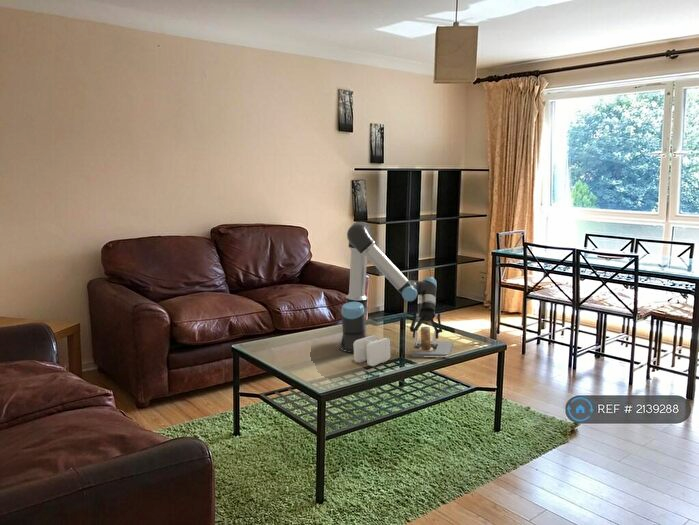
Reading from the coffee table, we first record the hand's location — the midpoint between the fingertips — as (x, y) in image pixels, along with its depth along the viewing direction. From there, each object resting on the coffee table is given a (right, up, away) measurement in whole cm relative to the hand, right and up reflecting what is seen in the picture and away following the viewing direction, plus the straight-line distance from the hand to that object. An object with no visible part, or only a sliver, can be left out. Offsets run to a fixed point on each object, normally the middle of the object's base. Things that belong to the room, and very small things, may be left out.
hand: (424, 343), depth 287 cm
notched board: (+4, -4, +3) cm, 7 cm away
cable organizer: (-26, -8, -8) cm, 29 cm away
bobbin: (+1, -4, +4) cm, 6 cm away
